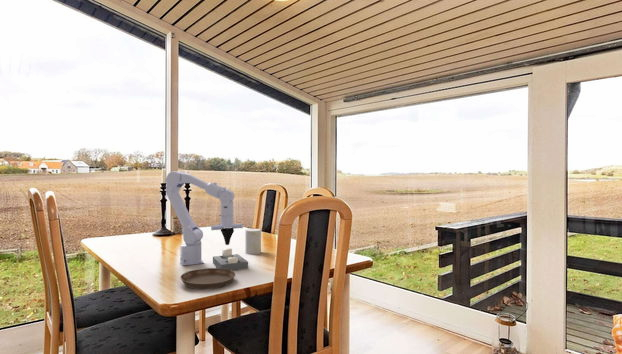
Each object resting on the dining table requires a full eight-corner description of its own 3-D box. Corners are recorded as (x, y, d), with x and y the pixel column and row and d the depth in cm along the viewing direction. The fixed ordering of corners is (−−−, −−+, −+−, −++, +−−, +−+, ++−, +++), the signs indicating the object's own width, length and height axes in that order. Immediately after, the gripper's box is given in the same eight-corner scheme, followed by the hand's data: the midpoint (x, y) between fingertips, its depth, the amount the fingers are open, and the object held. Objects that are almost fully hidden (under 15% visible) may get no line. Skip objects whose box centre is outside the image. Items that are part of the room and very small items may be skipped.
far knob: (223, 259, 172) (223, 250, 171) (221, 257, 175) (221, 248, 175) (233, 258, 174) (233, 249, 173) (230, 256, 177) (230, 247, 177)
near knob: (229, 268, 163) (229, 259, 163) (226, 266, 167) (226, 257, 167) (239, 267, 165) (239, 258, 165) (236, 265, 169) (236, 256, 169)
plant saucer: (244, 278, 152) (244, 270, 152) (217, 294, 132) (217, 285, 132) (200, 273, 158) (200, 266, 158) (168, 288, 138) (168, 279, 138)
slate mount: (221, 271, 160) (221, 264, 160) (212, 263, 175) (212, 256, 175) (248, 268, 166) (248, 261, 165) (237, 260, 180) (237, 254, 180)
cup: (253, 254, 191) (253, 231, 191) (242, 252, 196) (242, 230, 196) (264, 252, 198) (264, 229, 198) (253, 250, 203) (253, 228, 202)
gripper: (213, 217, 167) (213, 247, 168) (244, 215, 174) (244, 244, 174) (210, 215, 173) (210, 244, 174) (240, 214, 180) (240, 241, 180)
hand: (227, 244), depth 174 cm, fingers closed
